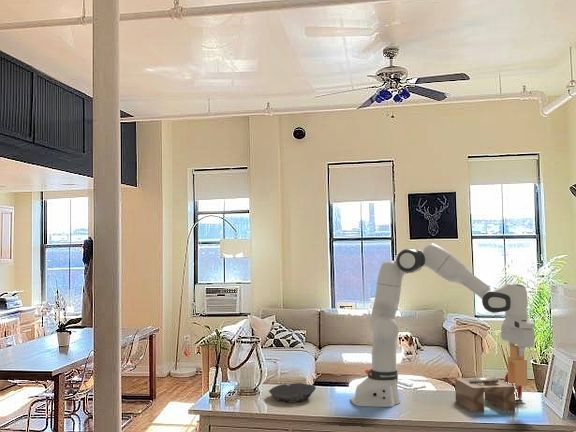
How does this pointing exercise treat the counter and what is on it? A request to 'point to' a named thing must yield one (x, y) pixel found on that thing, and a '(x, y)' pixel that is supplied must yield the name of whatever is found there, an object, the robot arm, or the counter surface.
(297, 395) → the bowl
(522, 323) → the robot arm
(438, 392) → the counter surface
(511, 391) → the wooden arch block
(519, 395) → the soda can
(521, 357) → the stepped wooden block
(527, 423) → the counter surface
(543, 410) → the counter surface
